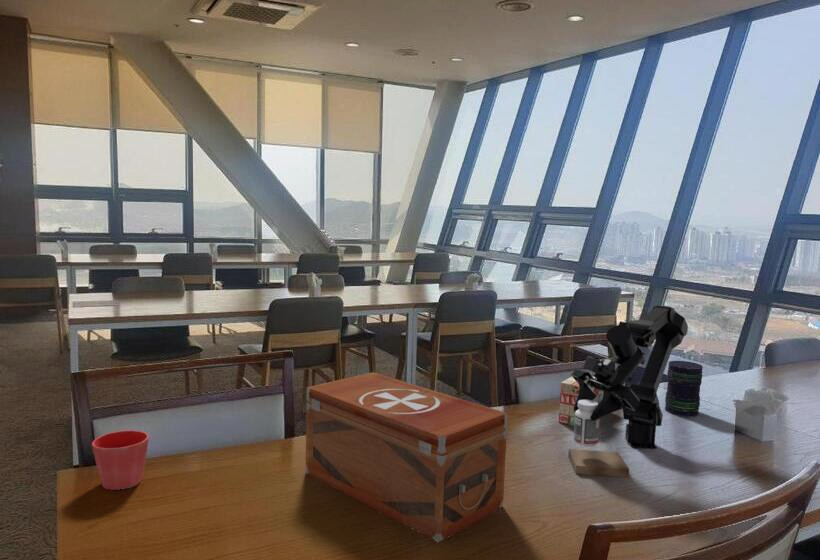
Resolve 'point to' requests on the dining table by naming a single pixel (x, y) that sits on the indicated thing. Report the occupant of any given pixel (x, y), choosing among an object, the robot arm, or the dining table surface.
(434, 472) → the wooden box
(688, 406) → the storage jar
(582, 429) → the pill bottle
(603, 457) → the wooden board
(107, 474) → the flower pot
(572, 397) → the stack of blocks
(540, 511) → the dining table surface
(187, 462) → the dining table surface
